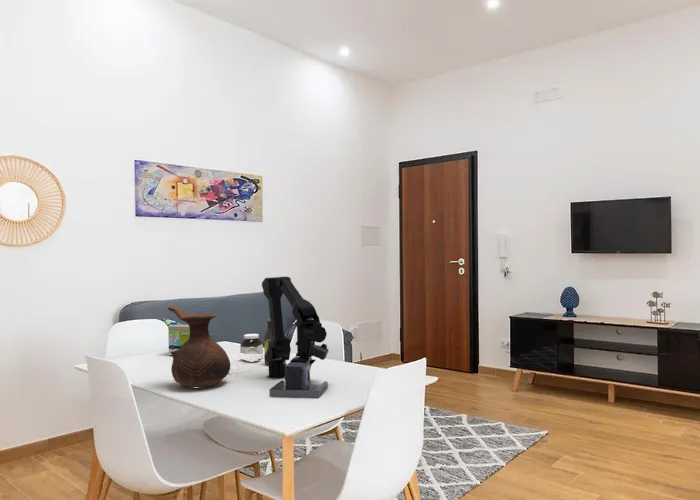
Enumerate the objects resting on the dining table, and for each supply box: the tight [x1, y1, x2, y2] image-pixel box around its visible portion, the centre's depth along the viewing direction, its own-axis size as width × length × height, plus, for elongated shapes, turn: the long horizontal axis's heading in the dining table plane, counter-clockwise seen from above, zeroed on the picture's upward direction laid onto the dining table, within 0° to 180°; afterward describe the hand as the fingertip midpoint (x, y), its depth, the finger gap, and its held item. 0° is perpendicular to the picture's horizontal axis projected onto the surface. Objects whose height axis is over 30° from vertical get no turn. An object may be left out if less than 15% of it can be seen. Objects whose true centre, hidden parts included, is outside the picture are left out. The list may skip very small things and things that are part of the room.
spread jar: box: [239, 333, 264, 355], centre depth 253 cm, size 12×11×12 cm
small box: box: [284, 360, 311, 390], centre depth 193 cm, size 11×6×10 cm, turn 168°
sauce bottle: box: [263, 319, 272, 366], centre depth 243 cm, size 6×6×20 cm
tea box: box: [167, 323, 190, 355], centre depth 272 cm, size 15×10×15 cm, turn 81°
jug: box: [167, 305, 231, 388], centre depth 209 cm, size 22×22×30 cm
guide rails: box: [268, 379, 329, 399], centre depth 193 cm, size 17×13×2 cm
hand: (305, 380), depth 203 cm, fingers closed on small box
